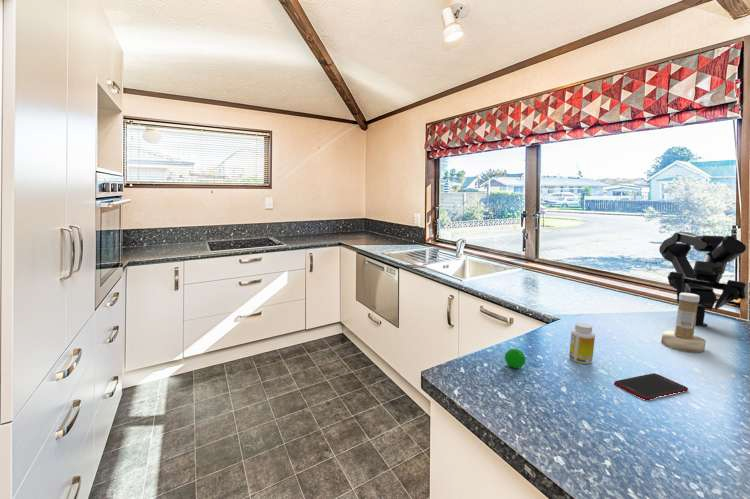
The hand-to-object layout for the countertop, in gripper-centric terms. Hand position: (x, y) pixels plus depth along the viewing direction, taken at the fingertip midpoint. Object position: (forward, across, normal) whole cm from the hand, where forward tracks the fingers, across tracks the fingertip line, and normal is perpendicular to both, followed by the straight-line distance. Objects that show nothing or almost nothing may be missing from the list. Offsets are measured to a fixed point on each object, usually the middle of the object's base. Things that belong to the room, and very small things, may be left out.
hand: (696, 304), depth 111 cm
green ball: (+55, -18, -40) cm, 71 cm away
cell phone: (+42, +6, -26) cm, 50 cm away
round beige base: (+16, +1, 0) cm, 16 cm away
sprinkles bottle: (+13, +1, -2) cm, 14 cm away
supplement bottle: (+42, -11, -26) cm, 50 cm away
